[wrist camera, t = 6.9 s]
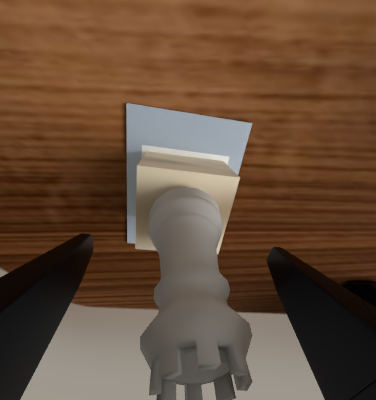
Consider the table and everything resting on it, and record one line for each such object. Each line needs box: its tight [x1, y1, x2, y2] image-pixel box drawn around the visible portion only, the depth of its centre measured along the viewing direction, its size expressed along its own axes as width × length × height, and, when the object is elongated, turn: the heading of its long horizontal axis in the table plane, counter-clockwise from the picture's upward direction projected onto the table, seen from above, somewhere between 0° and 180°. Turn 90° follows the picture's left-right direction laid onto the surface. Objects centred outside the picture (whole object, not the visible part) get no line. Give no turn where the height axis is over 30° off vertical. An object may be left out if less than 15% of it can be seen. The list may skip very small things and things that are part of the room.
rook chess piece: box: [140, 187, 252, 400], centre depth 8 cm, size 4×4×8 cm
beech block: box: [135, 151, 240, 254], centre depth 13 cm, size 6×6×4 cm
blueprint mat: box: [126, 103, 252, 243], centre depth 15 cm, size 12×9×1 cm
